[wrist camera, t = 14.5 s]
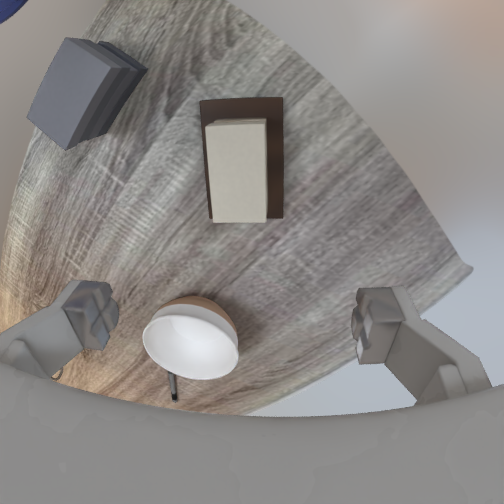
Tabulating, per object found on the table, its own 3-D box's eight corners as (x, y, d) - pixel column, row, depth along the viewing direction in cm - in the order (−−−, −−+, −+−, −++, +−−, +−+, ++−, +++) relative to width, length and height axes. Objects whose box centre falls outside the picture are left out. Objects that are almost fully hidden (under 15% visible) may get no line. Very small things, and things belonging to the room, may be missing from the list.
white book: (209, 123, 31) (204, 126, 28) (265, 121, 30) (264, 123, 28) (216, 214, 36) (213, 223, 34) (266, 213, 36) (266, 223, 34)
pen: (173, 365, 61) (172, 370, 60) (178, 401, 70) (177, 405, 69) (167, 364, 61) (166, 369, 60) (173, 400, 70) (172, 404, 69)
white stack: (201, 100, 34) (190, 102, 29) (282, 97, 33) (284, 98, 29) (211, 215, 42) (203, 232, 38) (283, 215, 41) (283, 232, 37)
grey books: (108, 42, 29) (65, 37, 21) (148, 69, 32) (111, 67, 23) (70, 105, 34) (26, 117, 26) (106, 133, 36) (65, 150, 28)
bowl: (170, 346, 58) (159, 377, 51) (145, 284, 50) (128, 315, 43) (248, 348, 56) (244, 381, 49) (236, 281, 48) (229, 315, 41)
